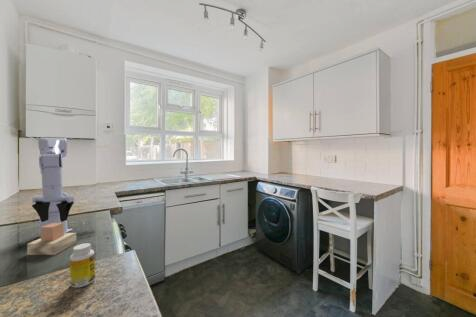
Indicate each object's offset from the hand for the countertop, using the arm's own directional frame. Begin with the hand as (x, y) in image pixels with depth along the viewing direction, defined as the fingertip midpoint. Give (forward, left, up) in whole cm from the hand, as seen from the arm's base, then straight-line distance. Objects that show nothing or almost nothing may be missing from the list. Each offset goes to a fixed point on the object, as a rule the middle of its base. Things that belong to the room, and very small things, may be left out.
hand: (54, 220), depth 82 cm
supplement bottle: (+28, -22, -11) cm, 37 cm away
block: (0, -1, -6) cm, 6 cm away
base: (0, -1, -10) cm, 10 cm away
